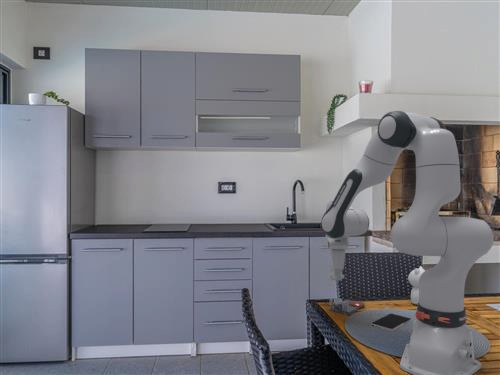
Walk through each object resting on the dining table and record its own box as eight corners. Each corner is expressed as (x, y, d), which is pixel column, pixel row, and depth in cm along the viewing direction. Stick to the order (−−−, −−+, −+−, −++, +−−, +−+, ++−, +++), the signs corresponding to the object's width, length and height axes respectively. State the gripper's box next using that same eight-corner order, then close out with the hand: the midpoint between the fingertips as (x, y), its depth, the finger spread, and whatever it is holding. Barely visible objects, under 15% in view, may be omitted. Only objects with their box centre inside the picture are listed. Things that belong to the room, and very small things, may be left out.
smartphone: (412, 318, 129) (393, 329, 119) (412, 322, 129) (393, 333, 119) (390, 313, 135) (370, 322, 125) (390, 316, 135) (370, 326, 125)
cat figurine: (412, 299, 154) (411, 264, 154) (445, 305, 146) (444, 267, 146) (405, 304, 147) (404, 267, 148) (438, 311, 139) (437, 271, 139)
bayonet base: (351, 315, 135) (351, 304, 135) (326, 309, 142) (326, 299, 142) (367, 306, 145) (367, 296, 145) (343, 301, 152) (343, 291, 152)
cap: (330, 280, 138) (330, 268, 138) (326, 277, 144) (326, 266, 144) (346, 280, 139) (346, 268, 139) (341, 277, 144) (341, 266, 144)
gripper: (328, 239, 152) (329, 272, 152) (329, 245, 132) (329, 283, 132) (344, 239, 151) (344, 272, 151) (347, 245, 131) (347, 284, 131)
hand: (337, 277), depth 141 cm, fingers closed on cap, 4 cm apart
